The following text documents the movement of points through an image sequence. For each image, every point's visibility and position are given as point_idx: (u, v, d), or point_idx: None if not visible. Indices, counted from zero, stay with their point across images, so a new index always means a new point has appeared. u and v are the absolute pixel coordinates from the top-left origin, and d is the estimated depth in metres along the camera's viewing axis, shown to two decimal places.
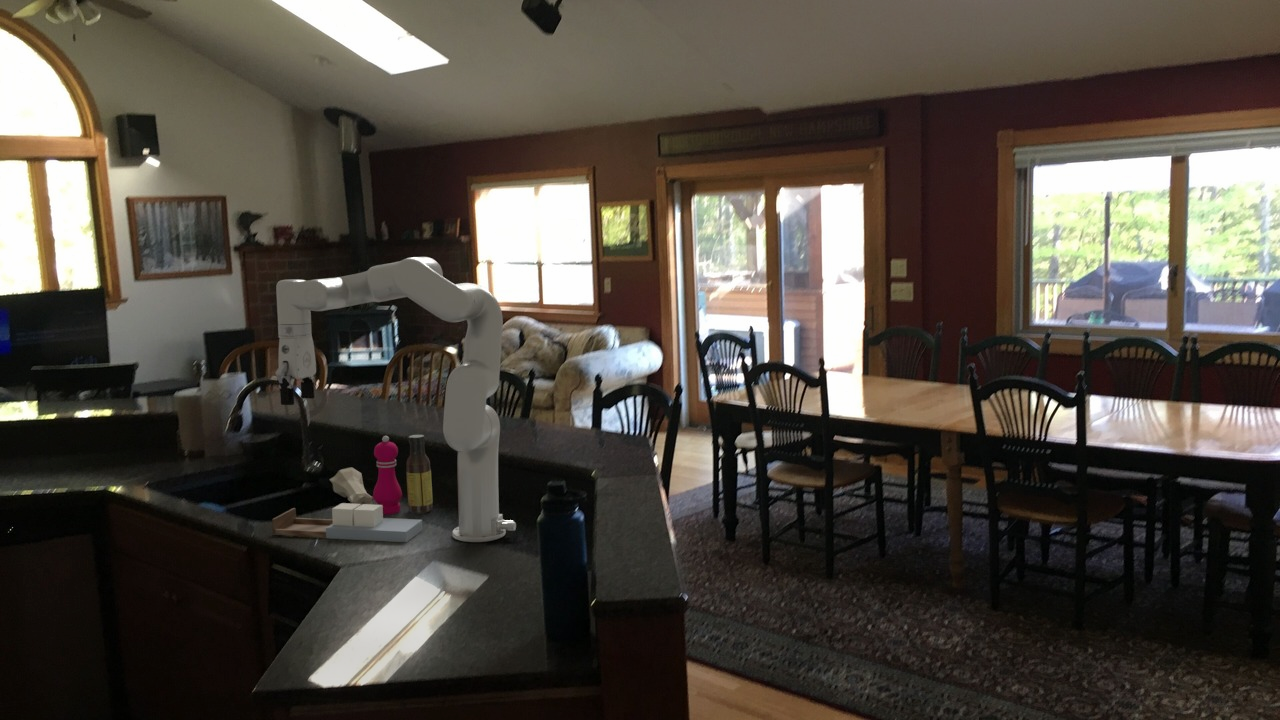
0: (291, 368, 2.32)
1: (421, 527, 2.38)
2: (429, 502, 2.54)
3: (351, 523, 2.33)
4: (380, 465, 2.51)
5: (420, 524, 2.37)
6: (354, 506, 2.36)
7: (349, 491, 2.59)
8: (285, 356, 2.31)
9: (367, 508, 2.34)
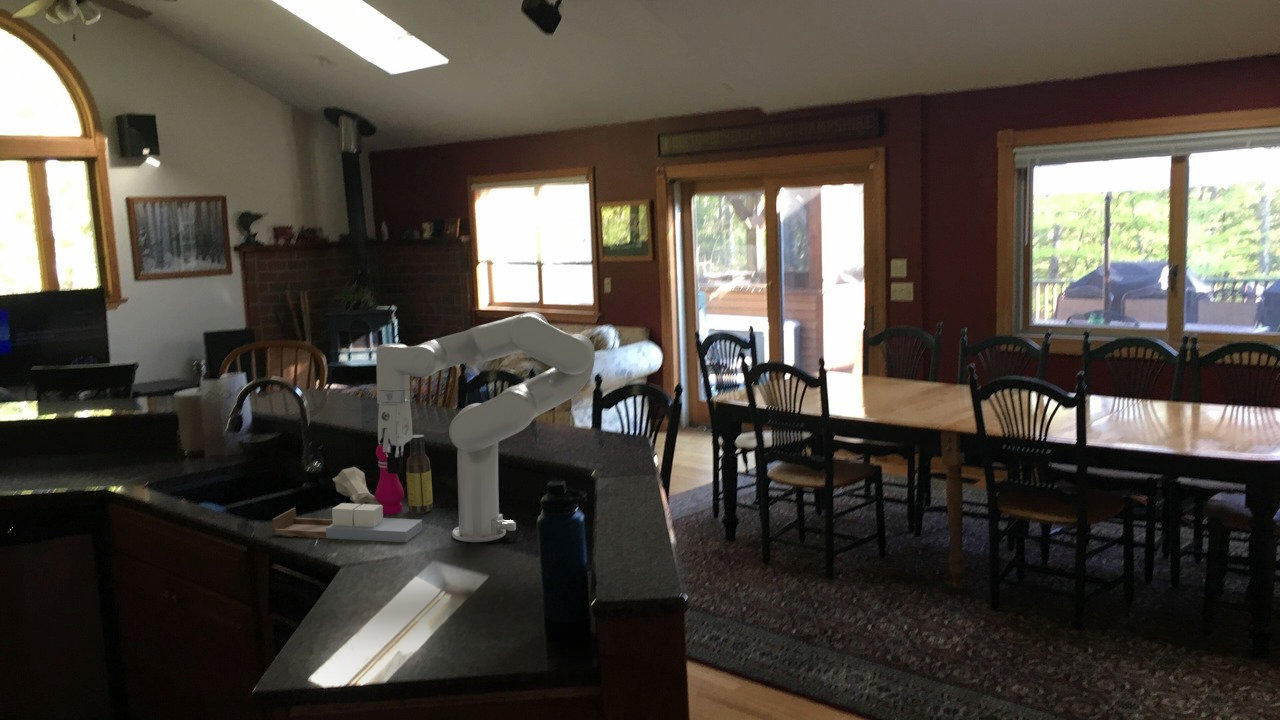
0: (391, 435, 2.26)
1: (421, 527, 2.38)
2: (429, 502, 2.54)
3: (351, 523, 2.33)
4: (382, 465, 2.51)
5: (420, 524, 2.37)
6: (354, 506, 2.36)
7: (352, 491, 2.60)
8: (385, 423, 2.26)
9: (367, 508, 2.34)
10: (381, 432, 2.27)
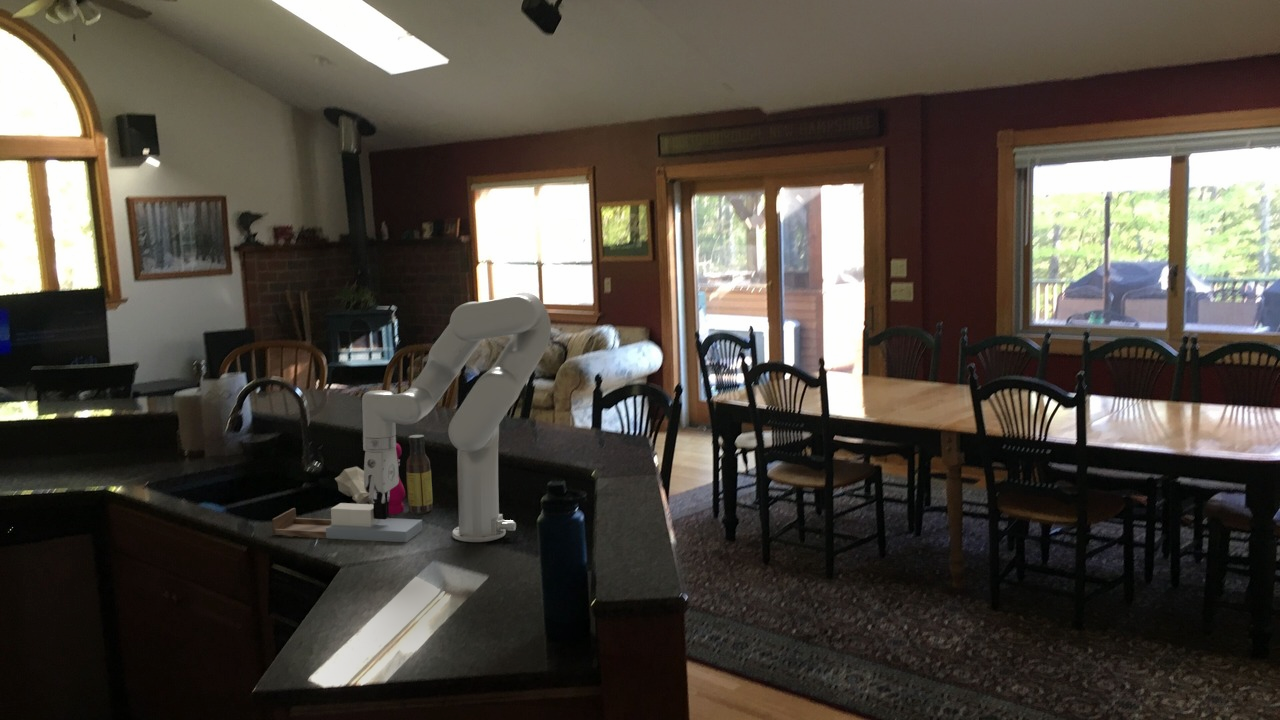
0: (377, 482, 2.28)
1: (421, 527, 2.38)
2: (429, 502, 2.54)
3: (350, 523, 2.33)
4: None
5: (420, 524, 2.37)
6: (353, 506, 2.36)
7: (354, 490, 2.60)
8: (371, 471, 2.28)
9: (364, 508, 2.34)
10: (367, 479, 2.29)
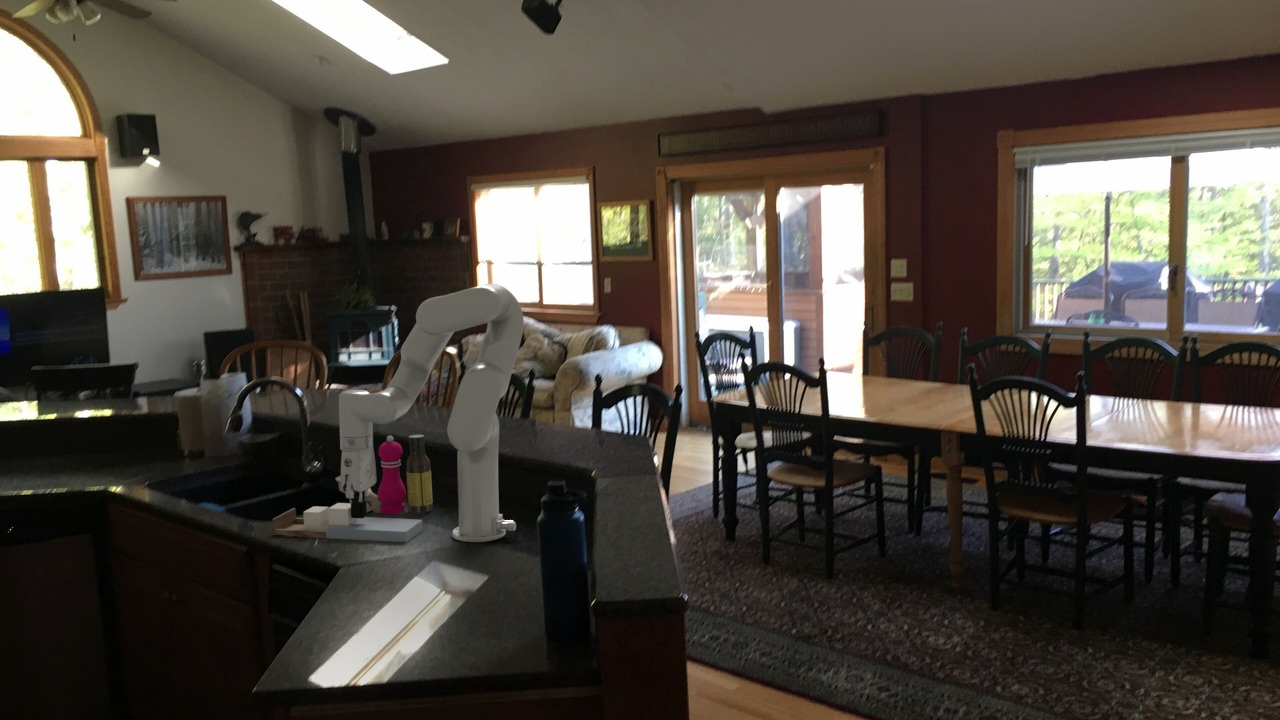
0: (354, 482, 2.29)
1: (421, 527, 2.38)
2: (429, 502, 2.54)
3: (316, 513, 2.35)
4: (384, 465, 2.51)
5: (420, 524, 2.37)
6: None
7: None
8: (348, 470, 2.29)
9: (341, 507, 2.35)
10: (344, 478, 2.30)
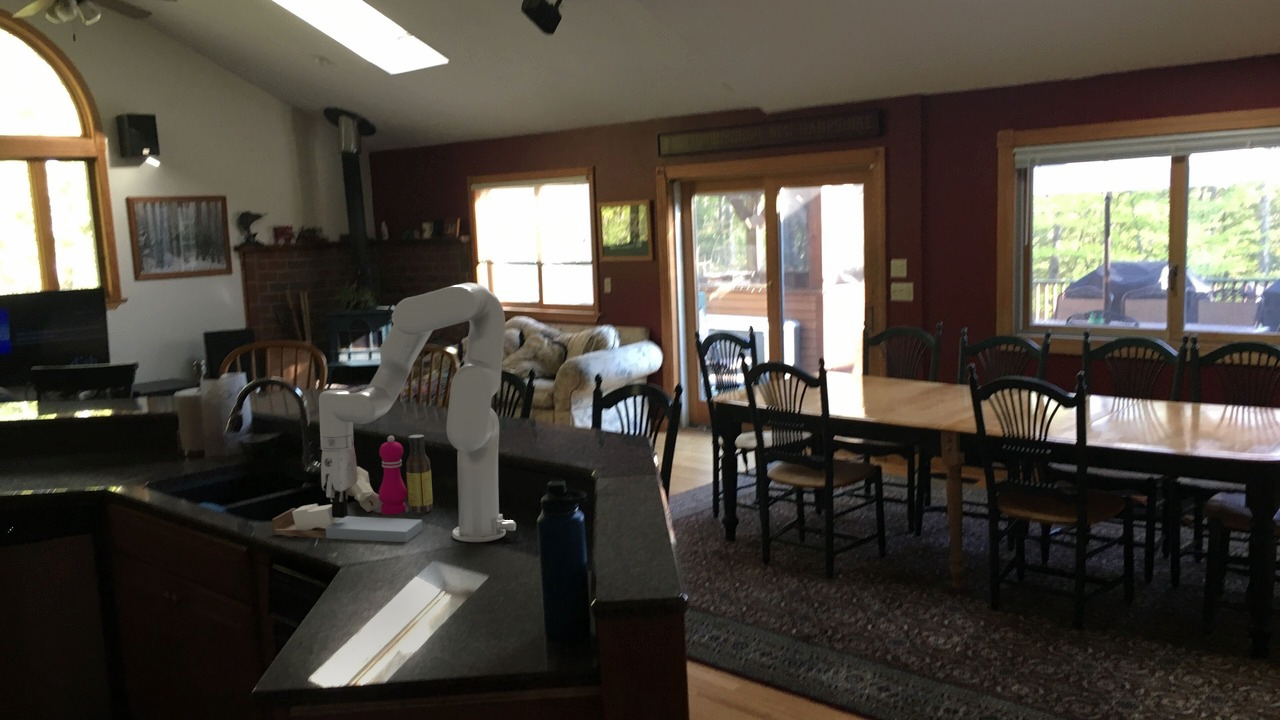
0: (334, 481, 2.30)
1: (421, 527, 2.38)
2: (429, 502, 2.54)
3: (305, 510, 2.35)
4: (385, 465, 2.51)
5: (420, 524, 2.37)
6: None
7: (356, 490, 2.60)
8: (328, 469, 2.30)
9: (321, 508, 2.36)
10: (324, 478, 2.30)
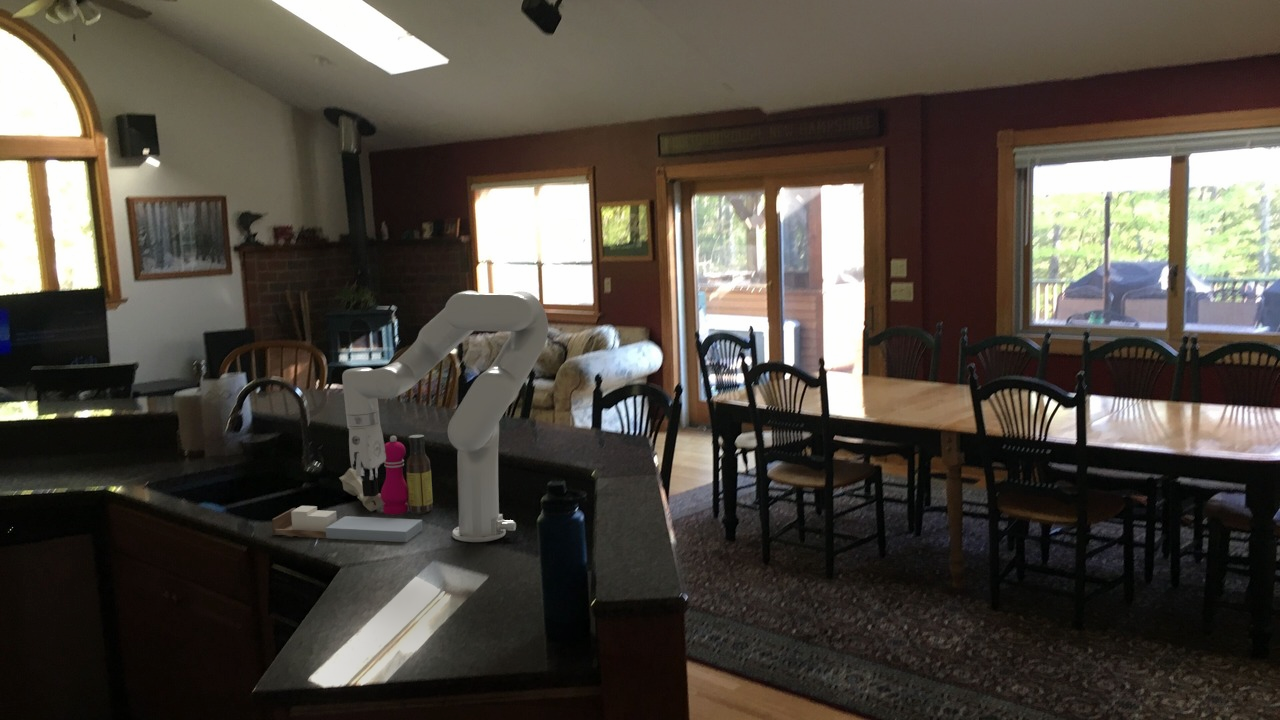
0: (363, 459, 2.28)
1: (421, 527, 2.38)
2: (429, 502, 2.54)
3: (304, 512, 2.35)
4: (387, 465, 2.51)
5: (420, 524, 2.37)
6: None
7: (359, 489, 2.61)
8: (356, 447, 2.28)
9: (320, 514, 2.36)
10: (353, 456, 2.29)
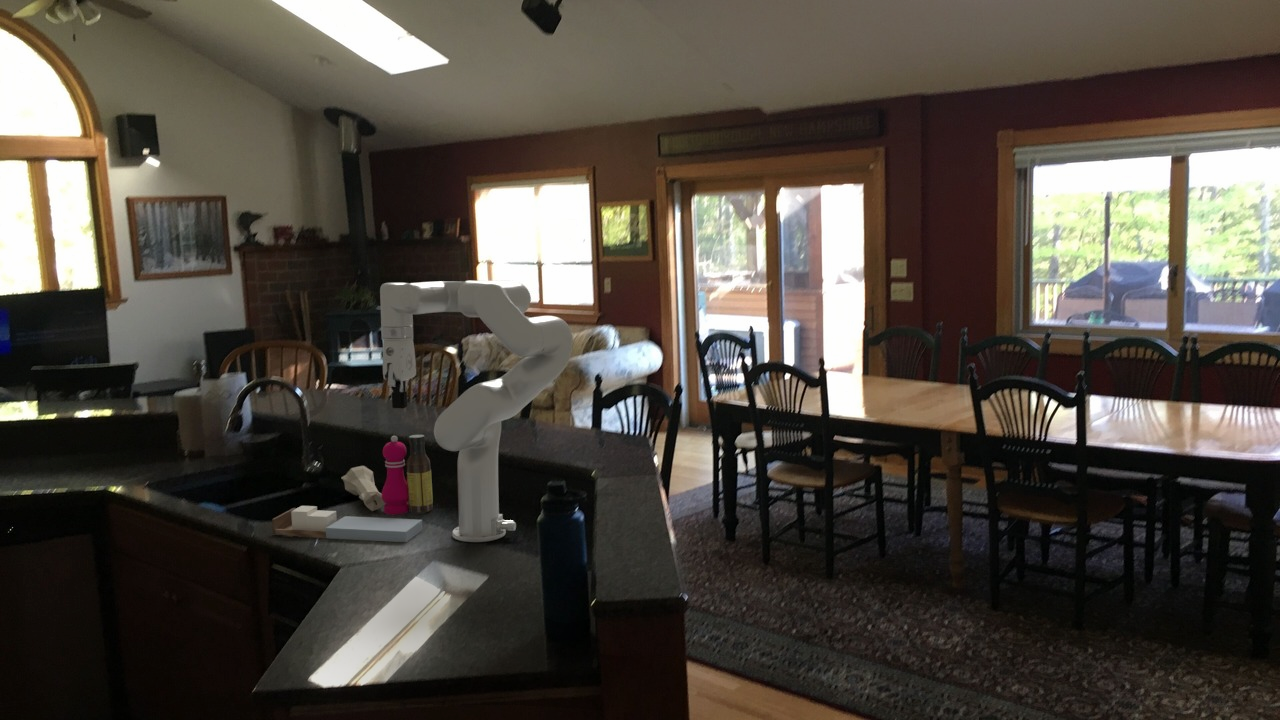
0: (395, 370, 2.35)
1: (421, 527, 2.38)
2: (429, 502, 2.54)
3: (304, 512, 2.35)
4: (388, 465, 2.51)
5: (420, 524, 2.37)
6: None
7: (360, 489, 2.61)
8: (389, 358, 2.35)
9: (320, 514, 2.36)
10: (386, 367, 2.35)
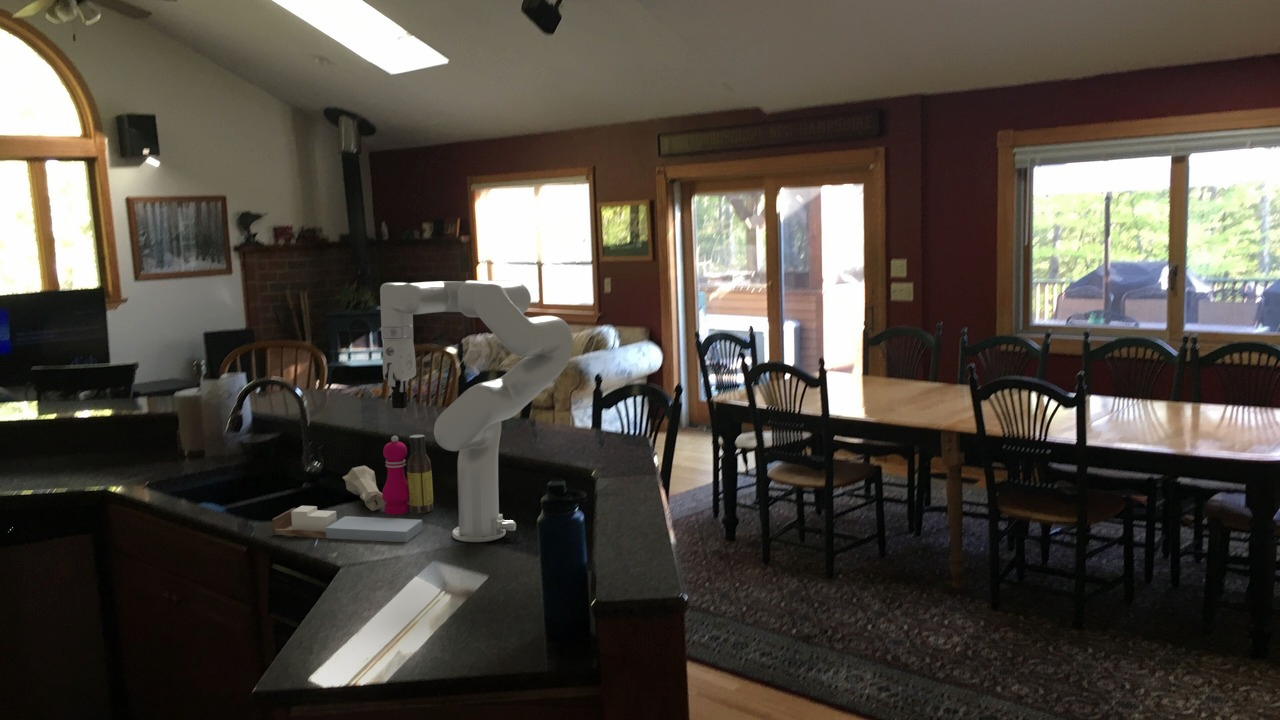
0: (395, 370, 2.35)
1: (421, 527, 2.38)
2: (430, 502, 2.54)
3: (304, 512, 2.35)
4: (388, 465, 2.51)
5: (420, 524, 2.37)
6: None
7: (361, 489, 2.61)
8: (389, 358, 2.35)
9: (320, 514, 2.36)
10: (386, 367, 2.35)
